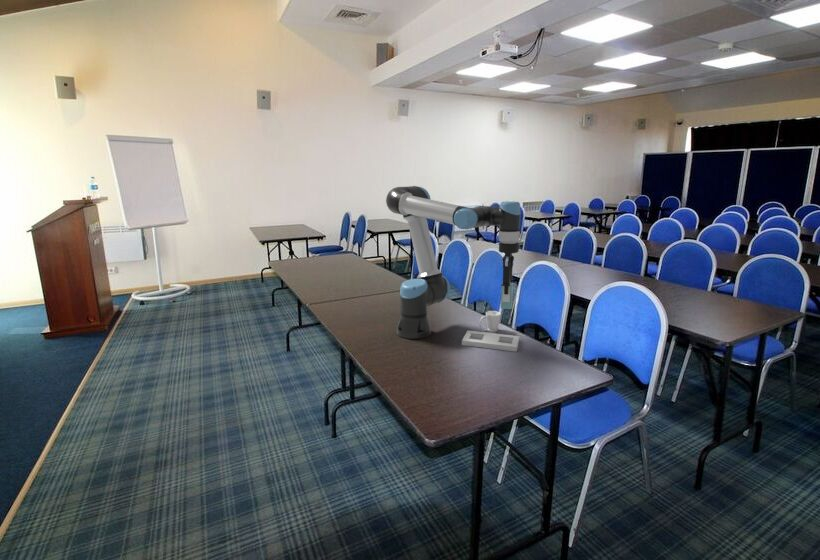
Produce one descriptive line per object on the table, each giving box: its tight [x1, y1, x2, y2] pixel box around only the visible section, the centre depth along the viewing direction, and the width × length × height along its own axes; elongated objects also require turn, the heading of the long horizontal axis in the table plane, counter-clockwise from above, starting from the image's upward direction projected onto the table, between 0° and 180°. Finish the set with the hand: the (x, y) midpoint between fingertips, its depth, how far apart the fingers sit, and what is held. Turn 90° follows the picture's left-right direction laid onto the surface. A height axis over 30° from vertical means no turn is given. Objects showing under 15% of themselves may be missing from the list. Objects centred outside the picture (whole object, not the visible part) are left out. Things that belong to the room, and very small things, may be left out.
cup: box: [478, 310, 502, 333], centre depth 187 cm, size 7×10×8 cm
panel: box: [461, 330, 520, 353], centre depth 174 cm, size 22×12×2 cm, turn 71°
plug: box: [500, 281, 514, 310], centre depth 167 cm, size 4×4×12 cm
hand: (506, 299), depth 167 cm, fingers closed on plug, 4 cm apart
